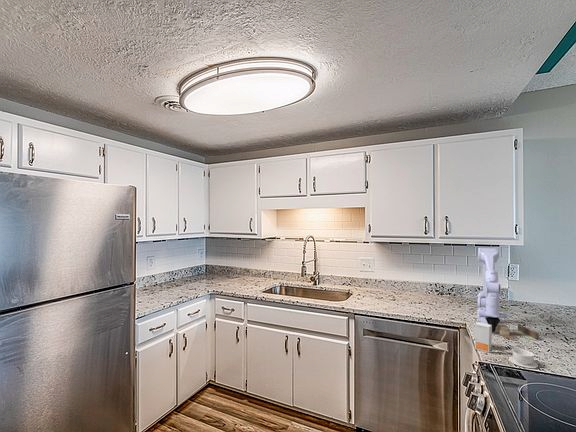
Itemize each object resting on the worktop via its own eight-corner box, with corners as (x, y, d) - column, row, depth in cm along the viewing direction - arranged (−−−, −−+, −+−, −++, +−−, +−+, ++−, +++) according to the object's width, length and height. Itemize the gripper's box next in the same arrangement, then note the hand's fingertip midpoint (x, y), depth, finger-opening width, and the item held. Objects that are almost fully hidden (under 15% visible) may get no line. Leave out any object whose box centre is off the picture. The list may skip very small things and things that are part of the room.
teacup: (533, 371, 124) (533, 359, 124) (504, 362, 132) (504, 351, 132) (541, 364, 130) (541, 353, 130) (513, 356, 138) (513, 345, 138)
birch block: (496, 331, 162) (496, 324, 162) (504, 332, 162) (504, 324, 162) (500, 334, 158) (501, 327, 158) (509, 335, 158) (509, 327, 158)
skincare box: (474, 349, 144) (474, 323, 144) (476, 346, 147) (477, 321, 147) (489, 353, 140) (489, 327, 140) (491, 350, 143) (492, 324, 143)
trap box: (489, 331, 167) (489, 322, 167) (518, 332, 166) (518, 323, 166) (506, 341, 153) (506, 332, 153) (537, 342, 152) (538, 333, 152)
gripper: (482, 307, 157) (482, 333, 157) (512, 307, 156) (512, 334, 156) (474, 303, 164) (474, 328, 164) (503, 304, 163) (503, 329, 163)
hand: (492, 331), depth 161 cm, fingers closed
